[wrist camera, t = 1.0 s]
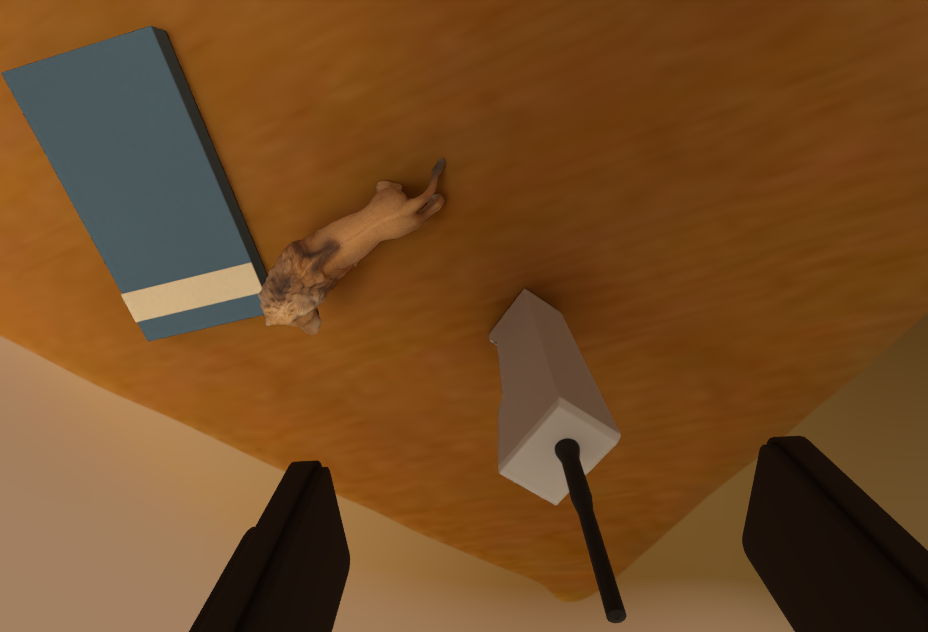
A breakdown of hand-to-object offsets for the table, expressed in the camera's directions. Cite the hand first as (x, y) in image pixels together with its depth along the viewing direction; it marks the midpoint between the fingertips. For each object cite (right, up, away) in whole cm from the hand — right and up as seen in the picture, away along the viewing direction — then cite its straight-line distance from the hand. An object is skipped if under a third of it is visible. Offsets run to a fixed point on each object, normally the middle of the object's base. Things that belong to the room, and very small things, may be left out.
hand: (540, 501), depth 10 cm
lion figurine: (-9, +10, +25) cm, 29 cm away
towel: (-24, +13, +24) cm, 37 cm away
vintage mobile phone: (+3, +4, +28) cm, 28 cm away
